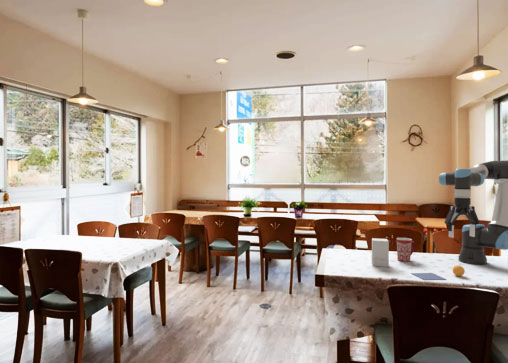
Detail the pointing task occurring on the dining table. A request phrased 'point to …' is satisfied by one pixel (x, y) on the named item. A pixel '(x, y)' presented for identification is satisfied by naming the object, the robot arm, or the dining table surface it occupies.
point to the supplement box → (380, 252)
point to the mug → (404, 249)
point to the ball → (458, 270)
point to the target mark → (428, 276)
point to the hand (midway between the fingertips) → (461, 236)
